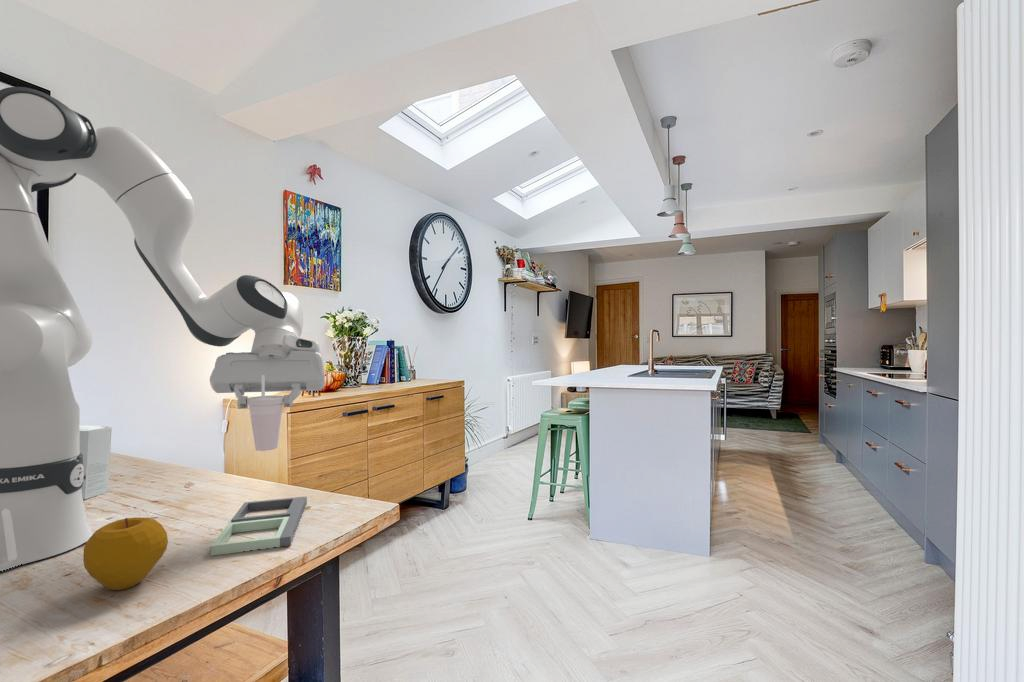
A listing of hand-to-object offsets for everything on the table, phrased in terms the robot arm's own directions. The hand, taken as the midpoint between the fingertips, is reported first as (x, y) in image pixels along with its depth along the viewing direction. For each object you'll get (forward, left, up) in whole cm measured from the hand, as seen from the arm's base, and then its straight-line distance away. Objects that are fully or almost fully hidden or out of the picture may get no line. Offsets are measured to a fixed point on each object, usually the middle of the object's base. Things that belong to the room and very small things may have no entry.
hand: (265, 405), depth 87 cm
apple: (-13, -21, -21) cm, 33 cm away
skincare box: (-41, +27, -21) cm, 53 cm away
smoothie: (0, +1, -8) cm, 8 cm away
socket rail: (0, -5, -21) cm, 21 cm away
